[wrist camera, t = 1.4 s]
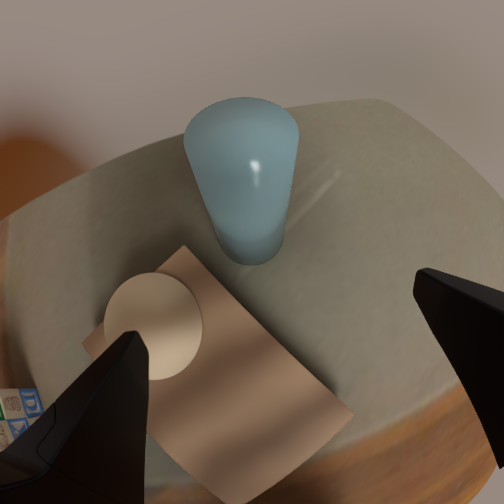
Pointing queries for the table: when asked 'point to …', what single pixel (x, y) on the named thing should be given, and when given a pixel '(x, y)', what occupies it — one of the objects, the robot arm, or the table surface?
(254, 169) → the light blue rounded piece
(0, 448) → the stack of blocks
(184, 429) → the plate
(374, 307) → the table surface
